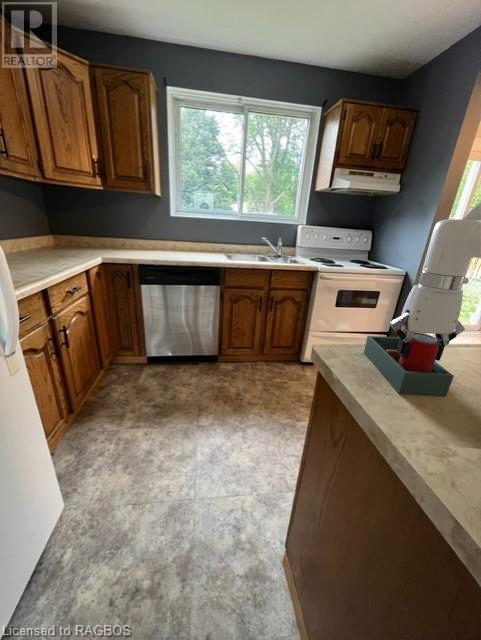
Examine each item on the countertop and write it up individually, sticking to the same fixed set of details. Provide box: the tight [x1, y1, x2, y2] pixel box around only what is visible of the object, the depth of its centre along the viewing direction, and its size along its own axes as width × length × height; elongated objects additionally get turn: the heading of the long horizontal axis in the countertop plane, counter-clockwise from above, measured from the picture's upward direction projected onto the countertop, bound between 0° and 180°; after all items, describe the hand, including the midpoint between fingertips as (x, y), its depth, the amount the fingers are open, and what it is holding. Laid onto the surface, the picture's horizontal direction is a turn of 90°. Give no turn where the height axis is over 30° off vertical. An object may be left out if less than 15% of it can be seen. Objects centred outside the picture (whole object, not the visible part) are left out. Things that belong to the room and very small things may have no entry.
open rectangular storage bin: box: [363, 335, 455, 398], centre depth 69 cm, size 11×20×6 cm, turn 178°
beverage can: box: [399, 333, 439, 373], centre depth 64 cm, size 7×7×12 cm
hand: (417, 356), depth 63 cm, fingers closed on beverage can, 6 cm apart
